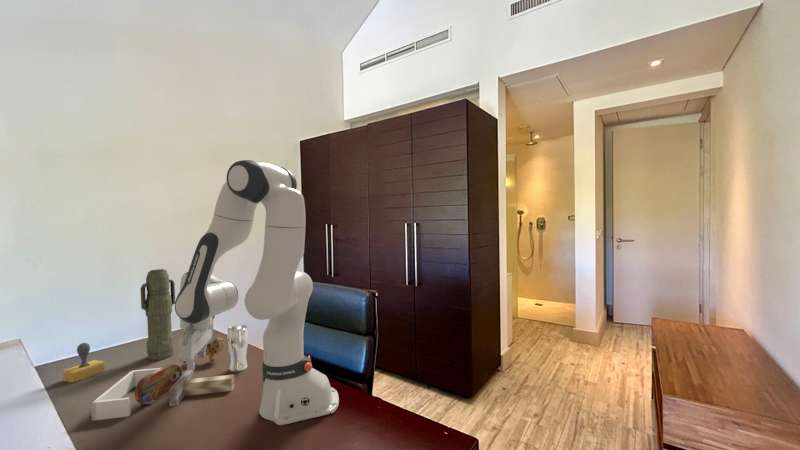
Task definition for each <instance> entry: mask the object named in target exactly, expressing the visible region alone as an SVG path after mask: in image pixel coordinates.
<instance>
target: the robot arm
mask: <svg viewBox="0 0 800 450" xmlns="http://www.w3.org/2000/svg"><path fill="white" fill-rule="evenodd" d="M297 186H298V181H297V179H296V177H295V175H294V174H293V173H292V172H291V170H289V169H287V168H285V167H282V166H277V165H274V164H272V163H269V162H266V161H265V162H263V161H256V160H252V159H242V160H238V161H235V162H233V163H232V164H231V165H230V167H229V168H228V170H227V173H226V181H225V183H224V184H222V187H221V189H220V192H219V194H218V197H217V200H216V203H215V207H214V210H213V215H212V216H213V217H212V220H211V222H210V225H209V227H208V229H207V230H206V232H205V234H203V235H202V237H200V239H199V241H198V243H197V245H196V248H195V250H194V252H193V256H192V259H191V263H190V265H189V268H188V271H186V272H185V273H184V274H182V275H181V279H180V286H179V292H178V294H177V296H176V297H175V304H174V311H175V314H176V315H177V317H179V327H180V329H181V330H183V332H182V333H181V335H180V336H179V339H178V346H177V347H178V348H177V359H178V361H179V362H184V361H185V362H186V363H185V364H186V370H188V371H191V370H193V369H194V370H195V368H196V365H195V363H196V362H195V363H194V361H195V360H194V357H195V355H196V354H197V353H198V354H197V355H198V356H197V355H196V356H197V357H198V359H201V358H202V359H203V358H205V357H206V356H205V351H206V347H207V344H208V342H210V340H211V339H212V337H213V333H214V319H215V318H216V316H217V315H220V314H222V313H224V312H227V311H229V310H232V309H234V308H235V307H236V306H237V304H238V300H239V292H238V290H239V289H238V288H237V287H236V285H235V284H234V283H232V282H231V281H230V280H229V281H228V280H224V279H221V278H219V277H218V276H215V275H214V274H213V272H214V269H215V266H216V263H217V262H218V260H219V259H220V258H221V257H222V256H223V255H225V254H226V253H228V252H229V251H231V250H233V249H234V248H236V247H238V246H240V245H242V244H243V243H244V242H246V240H248V238H249V236H250V234H251V232H252V230H253V225H254V218H255V213H256V209H257V206H258V205H259V204H260V203H261V204H262V205H263V207H264V208H265V209H264V210H265V225H264V240H263V251H262V257H261V259H260V264H259V267H258V268H257V269H258V270H257V273H256V276H255V278H254V280H253V283H252V284H251V286H250V287H249V288H248V289H247V290H246V293H245V296H244V306H245V310H246V311H247V312H248V314H249V315H250V316H251V317H253V318H254V319H256V320H268V324H267V326H266V328H265V330H264V332H263V335H262V343H263V345H262V346H263V360H262V363H261V377H262V382H263V389H262V397H261V402H260V407H259V410H258V413H259V415H260V417H262V418H264V419H265V420H268V421H271V422H274V423H275V424H276V425H278V426H284V425H288V424H292V423H296V422H300V421H305V420H310V419H313V418H318V417H323V416H326V415H331V414H333V413H335V412H336V411H337V409H338V407H339V404H340V397H339V392H338V391H337V389H335V388H334V387H332V386H331V383H330V381H329V378H328V376H327V375H326V374H324V373H322V372H321V371H319V370H317V369H315V368H314V367H313V363H312V358H311V355H308V356H307V355H305V354H304V329H305V321H306V317H307V316H306V315H307V309H308V304H309V301H310V297H311V294H312V293H313V290H314V282H313V279H312V278H311V276H310V275H309V274H308V273H307V272H305V271H302V270H298V268H299V265H300V262H301V260H302V258H303V257H304V254H305V242H306V241H305V239H306V227H307V226H306V220H307V219H306V203H305V198H304V195H303V194H302V193H301V191H300V190H298V189H297V188H298V187H297ZM195 358H196V357H195ZM330 413H331V414H330Z"/></svg>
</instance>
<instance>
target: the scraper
mask: <svg viewBox="0 0 800 450" xmlns="http://www.w3.org/2000/svg"><path fill="white" fill-rule="evenodd" d="M194 371H195V368H194V369H193V370H191V371H188V370H187V369H186V370H185V371H184V372H182V376H181V377H180V378H179V379H178V380H177V381H176V382H175V383H174V385H173V386H172V387H171V388H170V389H169V394H168V397H169V399H168V400H169V402H168V403H169V407H172V406H178V404H179V403H180V402H181V401H182V399H183V398H184V397H186V396H187V397H188V396H196V395H204V394H205V395H206V394H213V393H214V394H215V393H222V392H223V393H225V392H231V391H233V390H234V388H235V374H226V375H215V376H208V377H207V376H206V377H196V378H195V372H194Z"/></svg>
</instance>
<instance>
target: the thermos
mask: <svg viewBox="0 0 800 450" xmlns="http://www.w3.org/2000/svg"><path fill="white" fill-rule="evenodd" d="M175 285H176V284H175V281H174V280H173V279H170V276H169V273H168V271H167V270H166V269H163V268H161V269H152V270H150V271H148V272H147V274H146V278H145V283H143V284H142V285H141V286H140V289H139V290H140V308H141V310H143V311H145V316H146V319H147V338H148V339H147V342H146V353H147V360H148V361H161V360H165V359H168V358H170V357H171V358H172V356H173V355H174V348H175V346H174V336H173V333H172V312H173V306H174V305H175V301H176V288H175ZM146 293H147V294H146Z"/></svg>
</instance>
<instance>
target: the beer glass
mask: <svg viewBox="0 0 800 450" xmlns="http://www.w3.org/2000/svg"><path fill="white" fill-rule="evenodd" d="M226 332H227V333H226V334H227V336H226V339H227V341H226V344H227V345H226V346H227V348H228V350H227V351H228V353H229V357H230V358H229V359H230V360H229V361H230V365H229V371H230V372H234V373H235V372H241V371H245V370H246V369H247V368H248V366H249V365H248V361H247V351H248V345H249V334H248V326H247V325H245V324H244V325H242V324H241V325H240V324H239V325H233V326H230V327H228V328H227V331H226Z"/></svg>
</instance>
